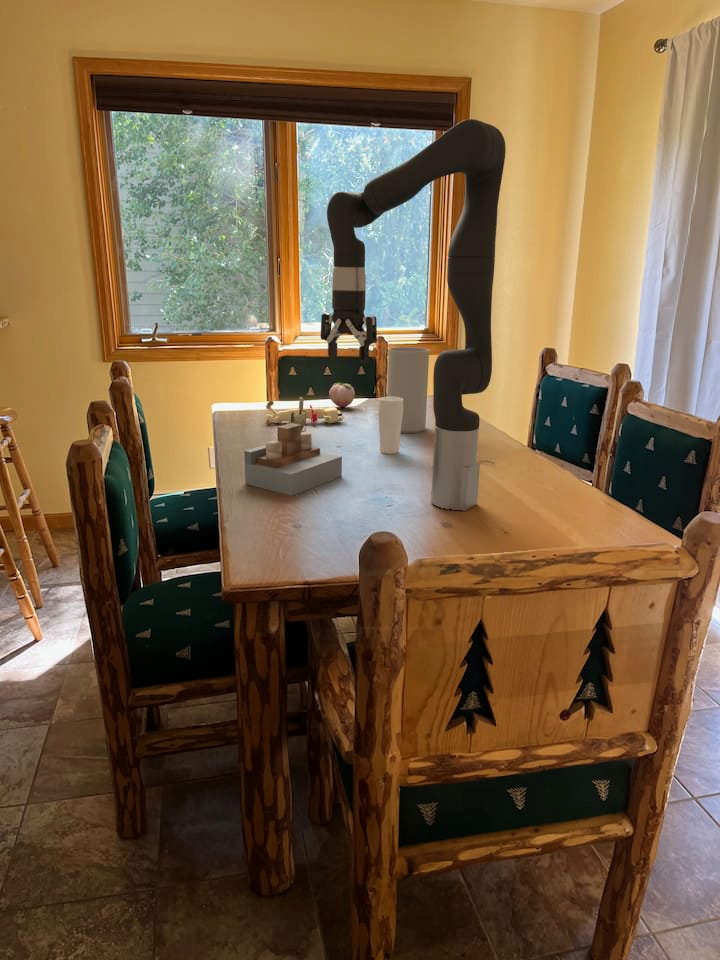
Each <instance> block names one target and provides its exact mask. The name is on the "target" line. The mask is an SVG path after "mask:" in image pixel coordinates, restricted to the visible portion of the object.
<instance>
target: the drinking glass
mask: <svg viewBox="0 0 720 960" xmlns="http://www.w3.org/2000/svg"><path fill="white" fill-rule="evenodd" d="M377 407H378V409H377V410H378V411H377V414H378V431H379V451H380V452H381V453H382V454H384V455H385V454H386V455H394V454H398V453H399V451H400V444H401V443H400V441H401V434H402V433H401V426H402V418H403V398H400V397H387V396H381V397H379V398H378V406H377Z"/></svg>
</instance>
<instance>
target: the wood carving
mask: <svg viewBox="0 0 720 960" xmlns="http://www.w3.org/2000/svg"><path fill="white" fill-rule="evenodd" d="M298 403H299V404H298V409H299V412H298V413H297V414H296V415H295V416H294V412H292V414H291V419H290V420H289V421H287V424H290V423H293V424H298V425H301V432H307V428H306V427H307V426H306V425H307V418H306V414H307V413H305V410H303V408H304V403H305V402H304V397H302V396H300V397H299V400H298Z"/></svg>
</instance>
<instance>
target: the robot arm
mask: <svg viewBox="0 0 720 960" xmlns="http://www.w3.org/2000/svg"><path fill="white" fill-rule="evenodd" d="M506 148H507V147H506V140H505V137H504V134H503V133H502V132H501V131H500V129H499V128H497V127H496V126H494V125H492V124H489V123H486V122H484V121H481V120H478V119H474V118H472V119H471V118H468V119H463V120H461V121H459V122H458V123H456V124H455V125H453V126H452V127H451V128H450V127H449V129H447V131H446V132H444V133H443V134H441V135H440V136H439V137H437V138H436V139H435V140H434V141H433V142H431V143H430V144H429V145H427V146H426V147H424V148H423V149H422V150H420V151H419V152H418V153H416V154H414V155H413V156H411V158H408V159H407V160H406V161H403V162H402V163H401V164H399V165H397V166H395V167H393V168H391V169H389V170H387V171H386V172H382V173H381V174H379V175H377V176H376V177H374V178H372V179H370V180H369V181H368V182H367V183H366V184H365V186H364V188H363V191H362V192H358V193H354V192H349V191H348V192H347V191H337V192H335V193H333V194H332V195H331V197H330V198H329V201H328V203H327V208H326V217H327V218H326V219H327V224H328V228H329V233H330V238H331V243H332V245H333V271H332V279H331V280H332V283H331V295H332V298H331V299H332V300H331V308H332V309H333V312H332V313H330V312H329V313H328V312H326V313H322V314H321V320H320V321H321V322H320V339H321V340H322V341H323V340H324V341H326V343H327V356H328V358H329V360H332V361H333V360H337V359H338V339H339V338H340V337H341V336H342V335H346V334H347V335H349V336H352V335H353V337H354V338H355V339H356V340H357V342H358V343H359V346H358V347H359V351H358V353H359V354H358V355H359V358H358V361H359V364H362V363H363V364H364V363H367V362H368V360H369V358H370V356H369V355H370V346H371V345H373V344H376V343H378V331H377V322H378V321H377V316H375V315H369V316H365V310H366V288H367V287H366V285H367V283H366V282H367V280H366V279H367V277H366V276H367V275H366V245H365V243H364V242H363V241H362V240H361V239H359V238H358V237H357V236H356V231H355V229H357V228H364V227H366V226H369V225H370V224H372V223H373V222H375V221H376V220H378V219H379V218H380V217H381V216H382V215H383V214H384V213H387V212H389V211H390V210H394V209H395V208H398V207H400V206H401V205H403V204H405V203H407V202H409V201H410V200H412V199H414V197H415V196H416V195H418V194H419V193H420V192H421V191H422V190H423V189H424V188H425V187H426V186H427V185H429V184H430V183H432V182H434V181H436V180H438V179H441V178H443V177H446V176H450V175H454V174H458V173H461V174H462V175H463V174H464V177H465V180H464V181H465V183H464V184H465V186H464V199H463V200H464V201H463V207H462V211H461V213H460V216H459V220H458V221H457V223H456V226H455V229H454V231H453V234H452V237H451V240H450V243H449V246H448V250H447V251H448V252H447V254H448V255H447V265H446V266H447V269H446V270H447V271H446V282H447V288H448V290H449V293H450V295H451V297H452V299H453V301H454V304H455V306H456V307H457V309H458V311H459V313H460V316H461V317H462V321H463V326H464V337H465V339H464V340H465V342H464V349H452V350H451V349H448V350H447V349H446V350H444V351H441V352H440V353H439V354H438V355H437V357H436V359H435V362H434V367H433V376H432V380H433V381H432V382H433V383H432V385H433V391H432V392H433V393H432V394H433V398H432V400H433V402H432V403H433V404H432V405H433V407H432V408H433V412H434V419H435V421H434V426H435V427H434V439H433V440H434V441H433V457H432V458H433V459H432V474H431V475H432V476H431V492H430V493H431V494H430V495H431V496H430V497H431V498H430V503H431V502H432V503H433V504H434V505H436V506H438V507H437V508H439V507H441V508H440V509H443V508H445V509H444V510H449V509H452V510H451V511H465V512H466V511H468V510H469V509H470V508H472V507H474V506H476V505H478V496H479V483H480V470H481V463H480V462H479V461H478V458H477V457H478V445H479V430H480V415H479V413H478V412H476V411H473V410H471V409H467V408H465V407H464V404H463V395H465V396H466V395H475V394H481V393H483V392H484V391H486V389H487V388H488V387H489V385H490V382H491V379H492V373H493V348H492V347H493V346H492V304H493V287H494V285H493V284H494V277H495V262H496V239H497V226H498V212H499V211H498V209H499V208H498V207H499V199H500V198H499V197H500V192H501V184H502V179H503V173H504V167H505V160H506V151H507V149H506ZM332 323H333V324H334V325H333V326H332ZM364 325H365V328H364ZM365 329H366V330H365ZM432 503H431V504H432ZM433 504H432V505H433ZM434 505H433V506H434ZM436 506H435V507H436Z"/></svg>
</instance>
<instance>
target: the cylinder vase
mask: <svg viewBox="0 0 720 960" xmlns="http://www.w3.org/2000/svg"><path fill="white" fill-rule="evenodd" d="M387 352H388V353H387V354H388V356H387V377H386V378H387V387H386V397H400V398H403V418H402V426H401V434H416V433H415V432H417V433H420V432H424V431H425V430H426V424H427V422H426V421H427V405H428V404H427V403H428V402H427V401H428V386H429V385H428V384H429V383H428V381H429V368H430V367H429V364H430V363H429V361H430V349H428V348H424V347H415V346H414V347H412V346H408V347H407V346H399V347H398V346H397V347H395V346H394V347H390V348H388V351H387Z"/></svg>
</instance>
